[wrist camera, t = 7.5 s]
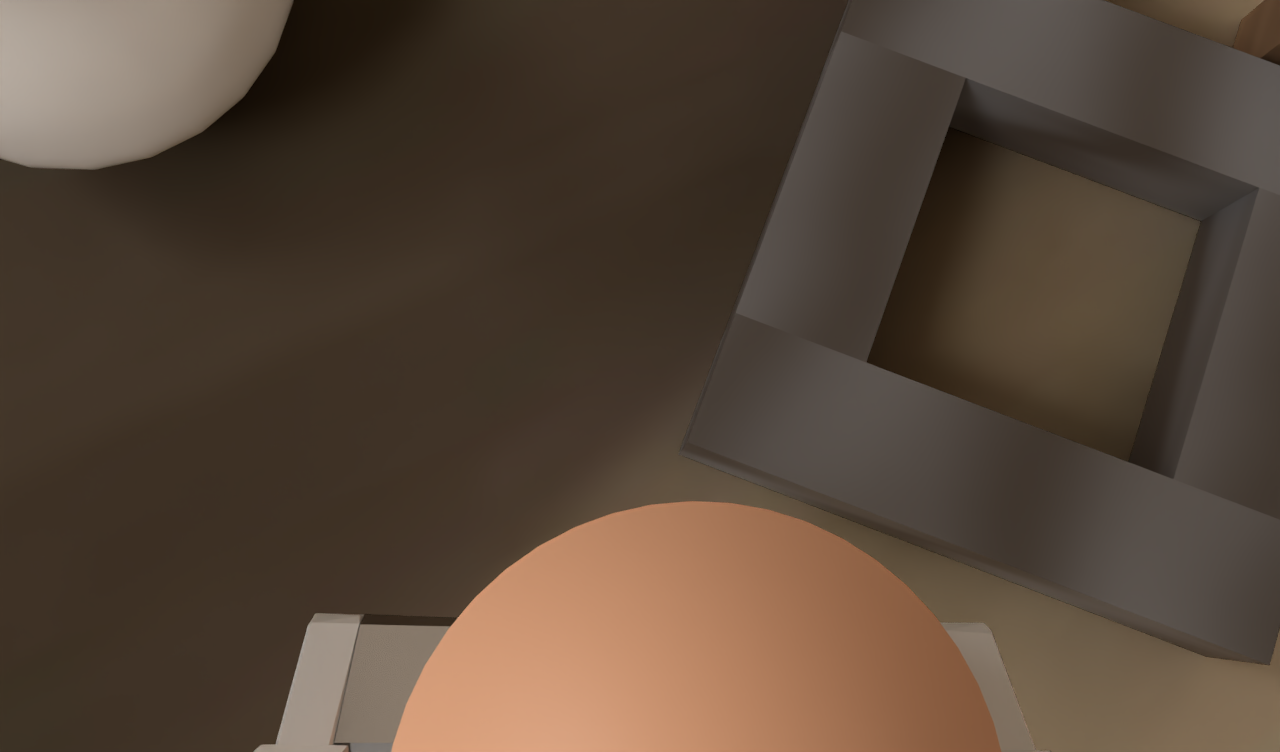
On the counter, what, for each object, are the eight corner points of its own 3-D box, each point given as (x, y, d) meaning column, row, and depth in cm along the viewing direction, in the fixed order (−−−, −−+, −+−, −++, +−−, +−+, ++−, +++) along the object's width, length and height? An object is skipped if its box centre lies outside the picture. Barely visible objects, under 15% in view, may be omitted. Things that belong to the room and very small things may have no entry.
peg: (462, 737, 19) (276, 1024, 7) (552, 506, 19) (525, 412, 8) (691, 826, 19) (896, 1267, 7) (774, 593, 19) (1087, 631, 8)
